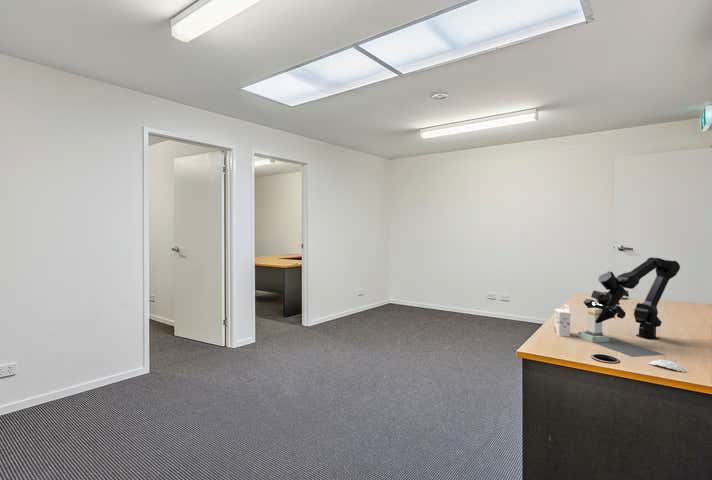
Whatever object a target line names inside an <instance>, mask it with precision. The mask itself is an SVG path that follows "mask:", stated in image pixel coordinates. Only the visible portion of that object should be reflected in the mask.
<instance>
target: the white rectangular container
mask: <svg viewBox="0 0 712 480" xmlns="http://www.w3.org/2000/svg"><path fill="white" fill-rule="evenodd" d="M601 313H602V309H598V308H588V307H587V330H586V331H585V332H586V334H588V335H591V336H603V335H604V332H603V321H602V322H600V323H596V320H597V318H598V317H599V316H600V314H601Z"/></svg>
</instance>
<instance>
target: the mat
mask: <svg viewBox="0 0 712 480" xmlns="http://www.w3.org/2000/svg"><path fill="white" fill-rule="evenodd" d="M603 336H606V335H605V334H603ZM574 337H575V338H578V339H580V340H583V341H587V342H589V343H592V344H595V345H598V346H601V347H603V348H607V349H608V350H612V351H615V352H618V353H621V354H624V355H626V356H629V357H631V358H639V357H651V356H652V357H653V356H664V355H665V356H666V354H665V353H661V352H658V351H656V350H652V349H650V348H649V349H648V348H645V347H642V346H639V345H637V344H633V343H630V342H627V341H624V340H620V339H617V338H615V337H611V336H609V342H597V343H593V342H590V341H588V340H585V339H582V338H579V337H578V336H577V335H575V336H574Z"/></svg>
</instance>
